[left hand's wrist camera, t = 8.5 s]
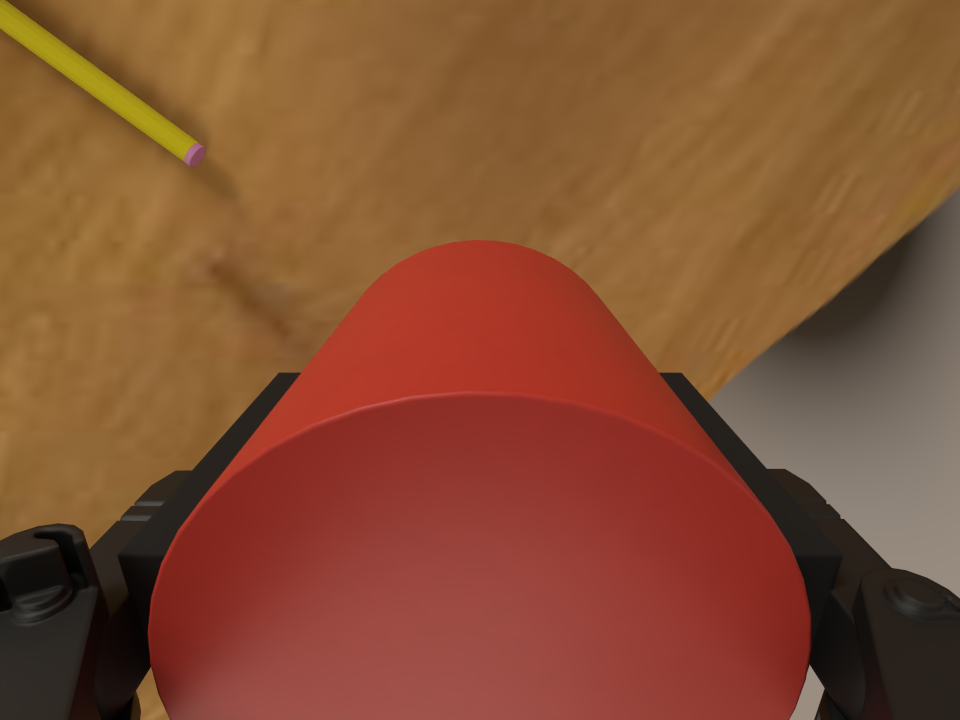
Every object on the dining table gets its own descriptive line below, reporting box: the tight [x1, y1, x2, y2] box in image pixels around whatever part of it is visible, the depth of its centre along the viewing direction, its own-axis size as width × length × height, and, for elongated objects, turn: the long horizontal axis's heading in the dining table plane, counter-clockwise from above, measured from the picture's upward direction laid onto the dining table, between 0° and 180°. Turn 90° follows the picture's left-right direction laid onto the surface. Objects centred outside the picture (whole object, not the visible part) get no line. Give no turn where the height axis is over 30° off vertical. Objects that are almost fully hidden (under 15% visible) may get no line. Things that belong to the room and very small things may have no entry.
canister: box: [148, 240, 811, 720], centre depth 12 cm, size 9×9×10 cm
